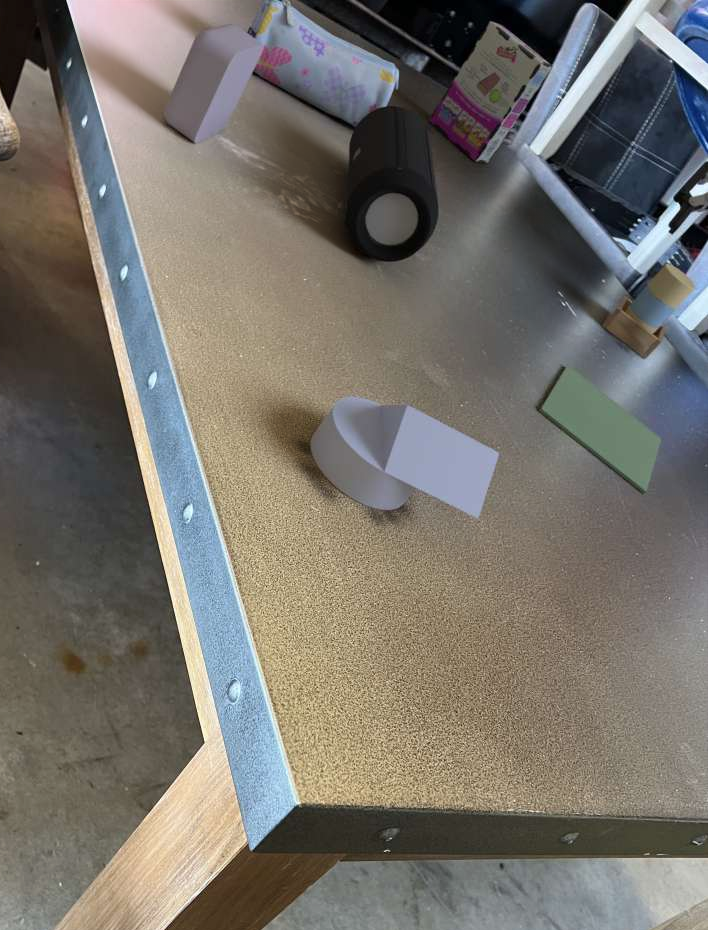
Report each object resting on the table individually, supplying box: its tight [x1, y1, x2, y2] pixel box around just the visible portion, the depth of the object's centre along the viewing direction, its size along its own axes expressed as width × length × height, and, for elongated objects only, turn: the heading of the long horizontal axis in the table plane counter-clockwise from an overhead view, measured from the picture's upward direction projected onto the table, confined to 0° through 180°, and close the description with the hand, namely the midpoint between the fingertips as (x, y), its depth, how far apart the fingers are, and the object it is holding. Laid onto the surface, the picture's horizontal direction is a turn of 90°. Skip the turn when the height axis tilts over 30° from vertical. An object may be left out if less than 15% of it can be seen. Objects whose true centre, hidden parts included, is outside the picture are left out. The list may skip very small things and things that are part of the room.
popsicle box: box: [428, 20, 554, 164], centre depth 151 cm, size 11×5×16 cm, turn 47°
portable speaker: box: [344, 105, 440, 263], centre depth 110 cm, size 26×10×10 cm, turn 175°
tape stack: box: [624, 263, 696, 334], centre depth 131 cm, size 5×5×10 cm
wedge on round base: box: [310, 396, 500, 519], centre depth 75 cm, size 9×7×13 cm
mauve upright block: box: [163, 23, 263, 144], centre depth 102 cm, size 10×5×10 cm, turn 159°
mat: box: [538, 364, 662, 495], centre depth 107 cm, size 14×16×1 cm
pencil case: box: [246, 0, 400, 128], centre depth 128 cm, size 21×9×10 cm, turn 89°
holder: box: [601, 295, 667, 360], centre depth 133 cm, size 7×7×3 cm
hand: (697, 250), depth 132 cm, fingers open, 8 cm apart
